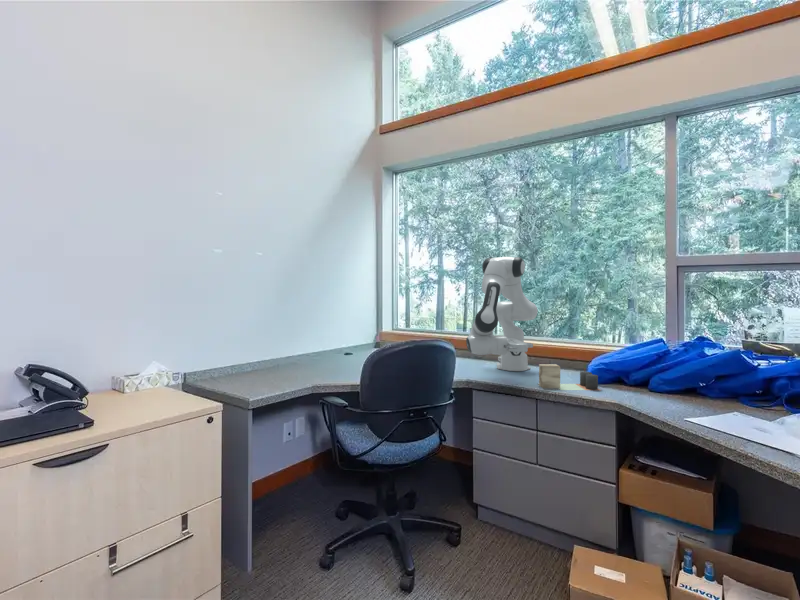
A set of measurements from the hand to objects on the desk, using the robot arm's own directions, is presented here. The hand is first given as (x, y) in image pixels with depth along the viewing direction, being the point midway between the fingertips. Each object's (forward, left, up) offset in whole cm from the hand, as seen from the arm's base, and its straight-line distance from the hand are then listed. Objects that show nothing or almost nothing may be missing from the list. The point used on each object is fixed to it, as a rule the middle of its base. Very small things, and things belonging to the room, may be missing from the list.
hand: (532, 345), depth 185 cm
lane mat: (0, +17, -20) cm, 26 cm away
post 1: (-3, +26, -19) cm, 33 cm away
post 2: (+3, +26, -19) cm, 33 cm away
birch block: (0, +8, -19) cm, 21 cm away
